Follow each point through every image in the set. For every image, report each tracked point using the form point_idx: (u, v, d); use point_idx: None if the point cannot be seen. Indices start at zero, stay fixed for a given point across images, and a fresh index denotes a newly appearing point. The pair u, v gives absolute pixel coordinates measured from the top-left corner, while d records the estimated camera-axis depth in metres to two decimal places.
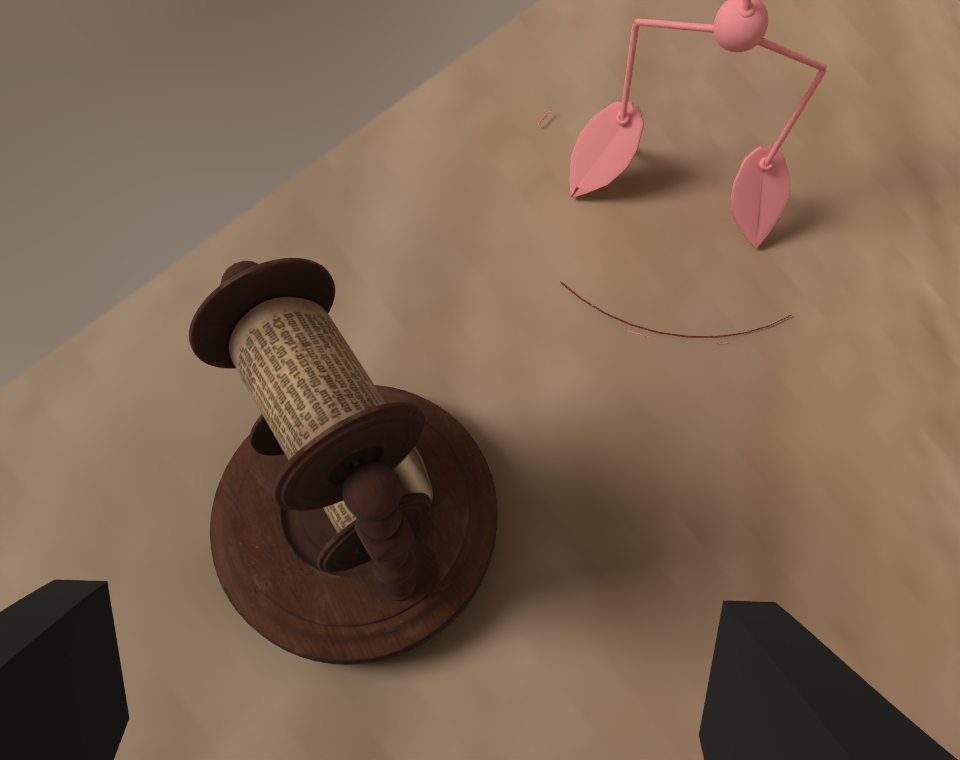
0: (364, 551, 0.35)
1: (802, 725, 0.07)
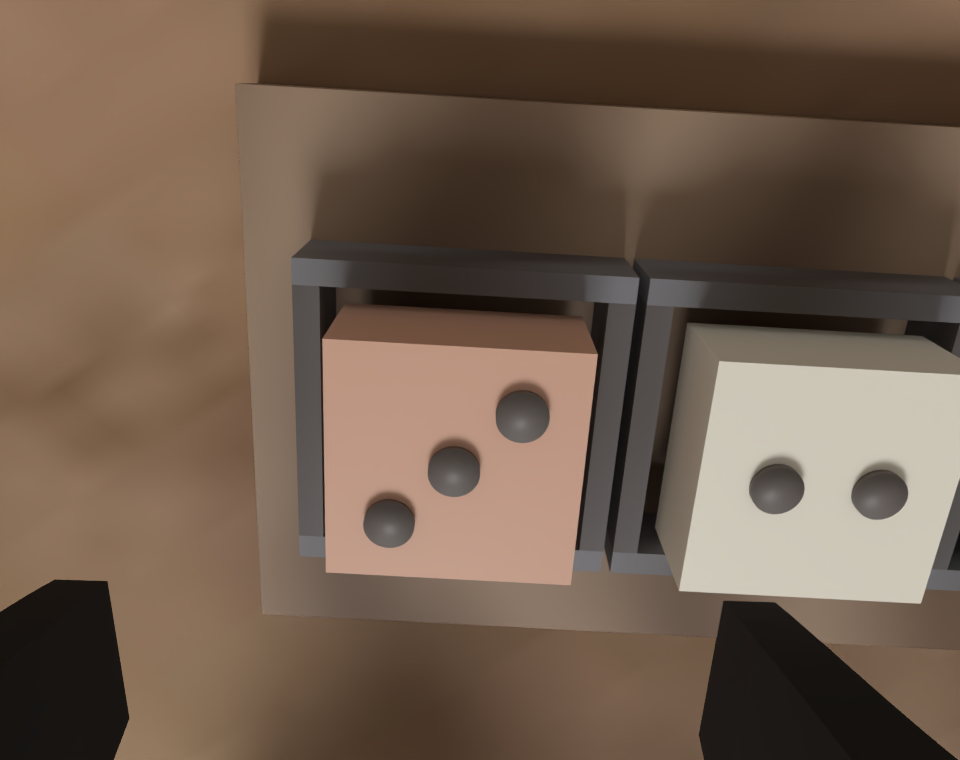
0: None
1: (802, 725, 0.07)
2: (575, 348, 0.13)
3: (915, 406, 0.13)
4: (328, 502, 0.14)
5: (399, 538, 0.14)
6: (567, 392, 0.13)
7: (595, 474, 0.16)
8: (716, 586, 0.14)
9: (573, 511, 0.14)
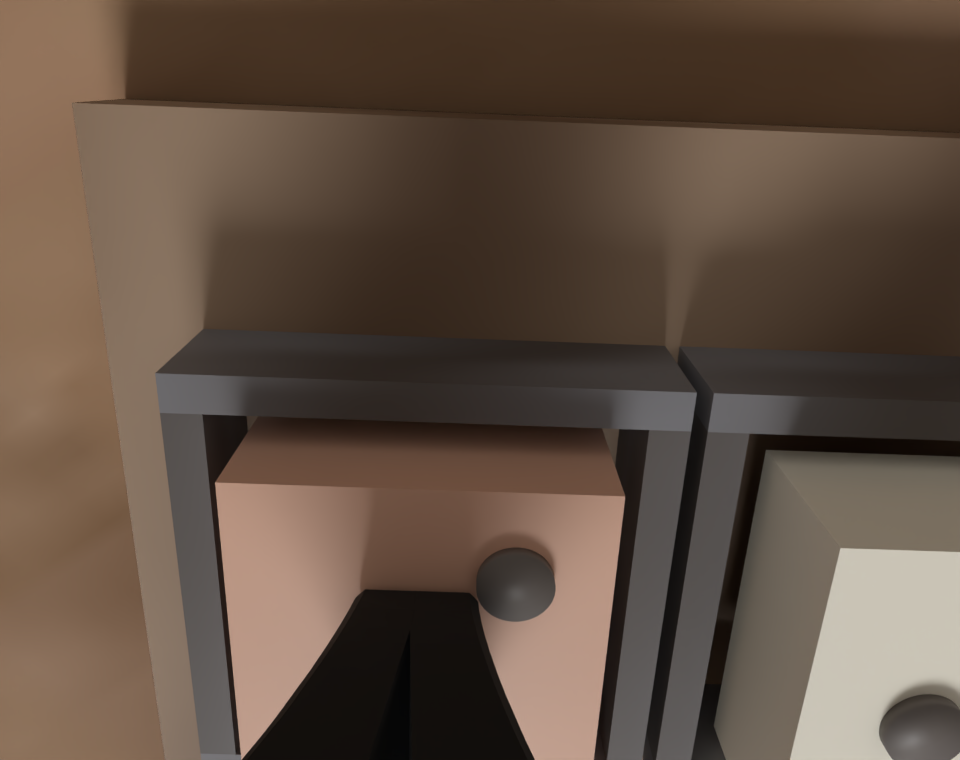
0: None
1: (411, 714, 0.07)
2: (591, 484, 0.09)
3: None
4: (242, 701, 0.10)
5: None
6: (581, 548, 0.09)
7: (629, 666, 0.11)
8: None
9: (591, 705, 0.10)
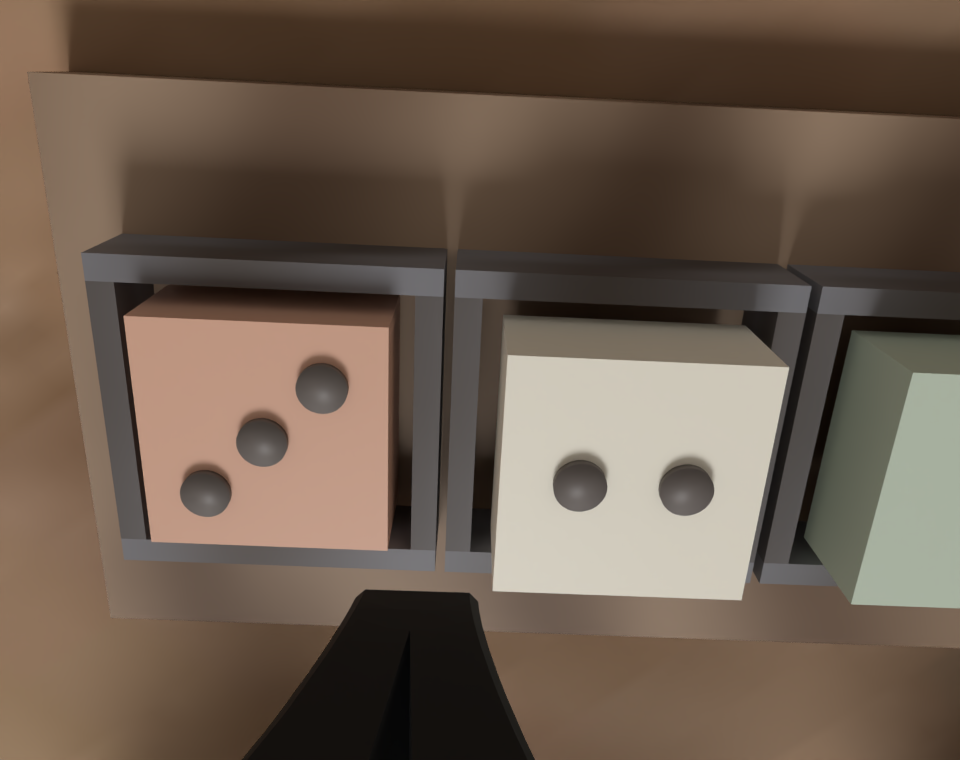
0: None
1: None
2: (370, 321, 0.14)
3: (714, 399, 0.13)
4: (147, 473, 0.14)
5: (216, 507, 0.15)
6: (364, 364, 0.14)
7: (419, 472, 0.15)
8: (530, 586, 0.14)
9: (382, 479, 0.15)
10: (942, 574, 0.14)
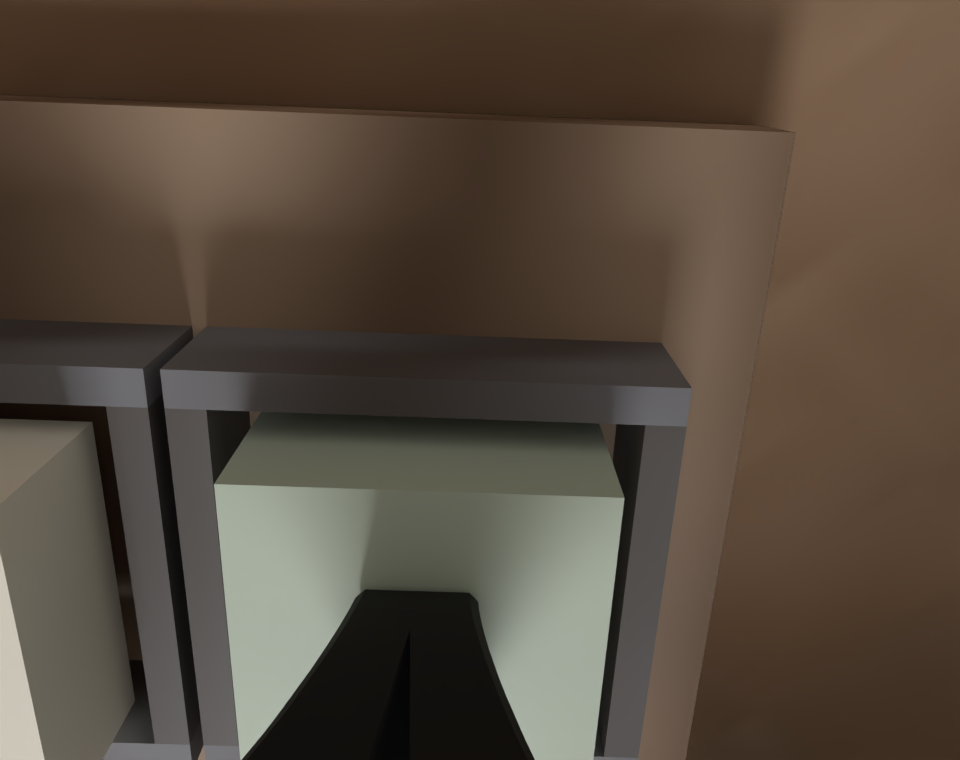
0: None
1: None
2: None
3: None
4: None
5: None
6: None
7: None
8: None
9: None
10: None
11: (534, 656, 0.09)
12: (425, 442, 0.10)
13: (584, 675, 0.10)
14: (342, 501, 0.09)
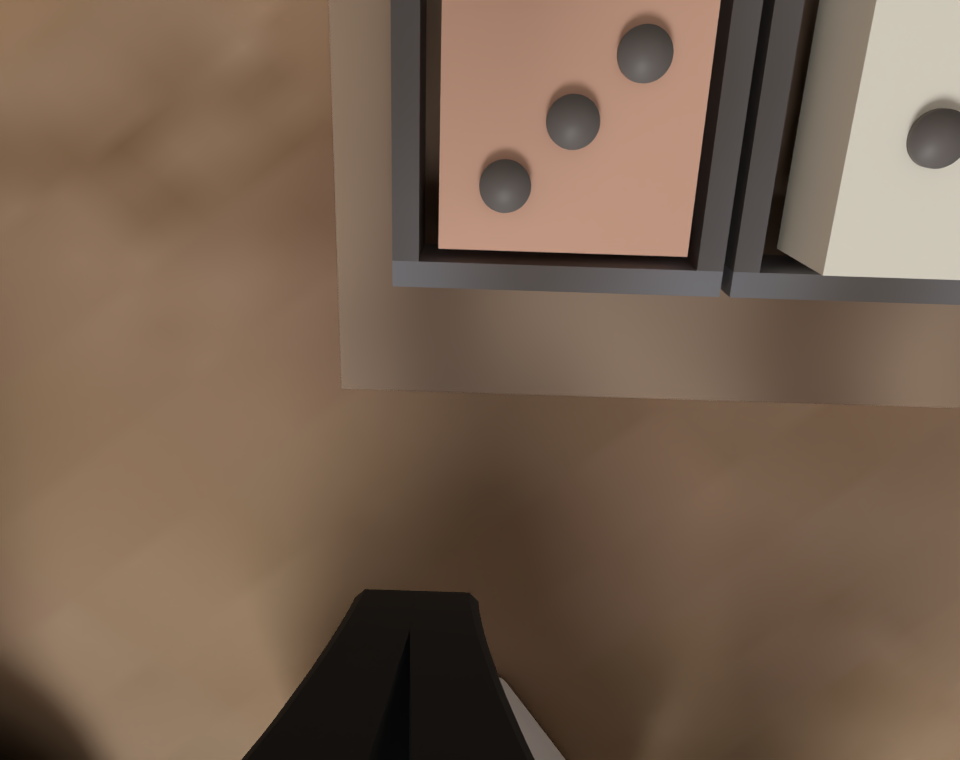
0: None
1: None
2: None
3: None
4: (444, 164, 0.14)
5: (515, 202, 0.14)
6: (691, 25, 0.13)
7: (717, 176, 0.14)
8: (864, 268, 0.13)
9: (692, 168, 0.14)
10: None
11: None
12: None
13: None
14: None
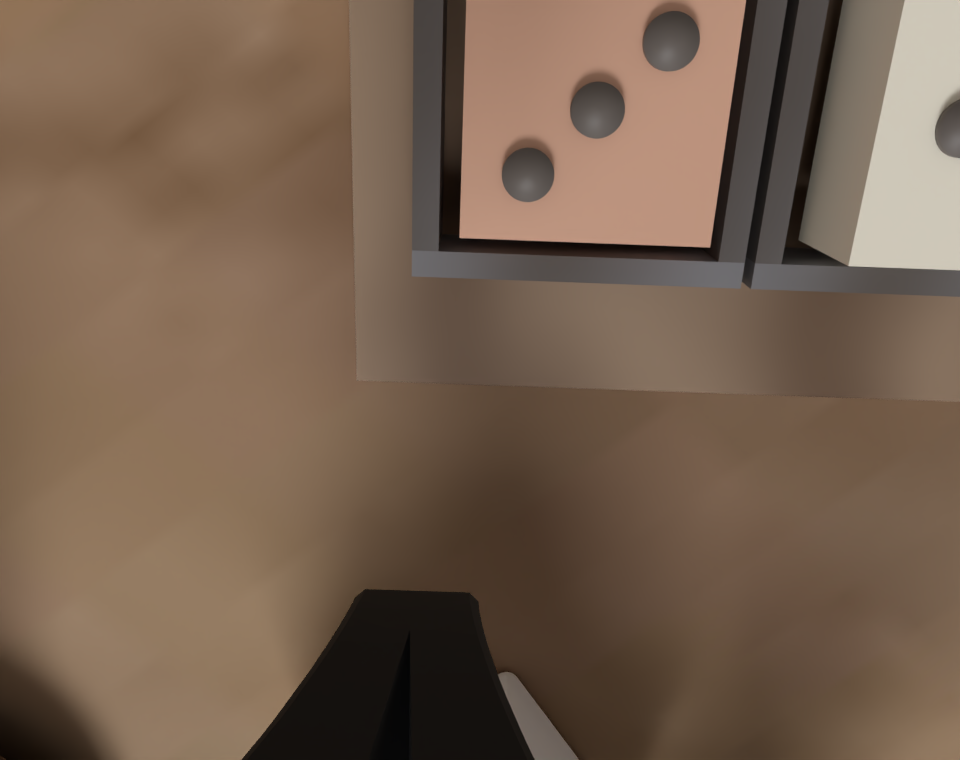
0: None
1: (411, 714, 0.07)
2: None
3: None
4: (466, 153, 0.14)
5: (538, 191, 0.14)
6: (717, 13, 0.13)
7: (740, 166, 0.14)
8: (890, 259, 0.13)
9: (717, 157, 0.14)
10: None
11: None
12: None
13: None
14: None
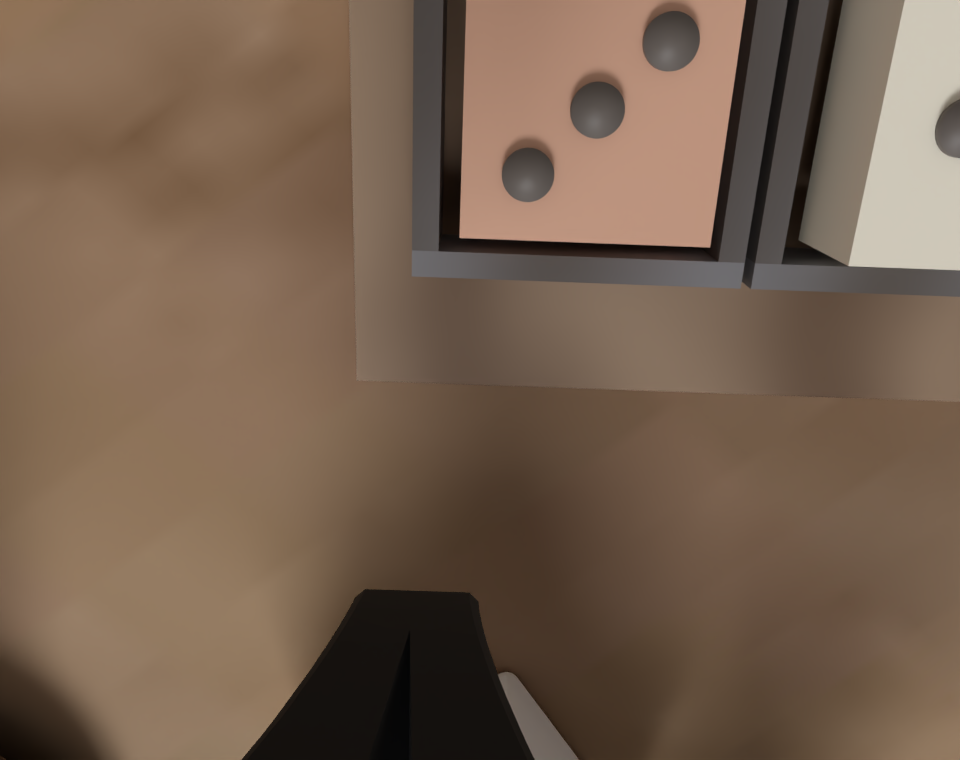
0: None
1: (411, 714, 0.07)
2: None
3: None
4: (466, 153, 0.14)
5: (538, 191, 0.14)
6: (717, 13, 0.13)
7: (740, 166, 0.14)
8: (890, 259, 0.13)
9: (717, 157, 0.14)
10: None
11: None
12: None
13: None
14: None
